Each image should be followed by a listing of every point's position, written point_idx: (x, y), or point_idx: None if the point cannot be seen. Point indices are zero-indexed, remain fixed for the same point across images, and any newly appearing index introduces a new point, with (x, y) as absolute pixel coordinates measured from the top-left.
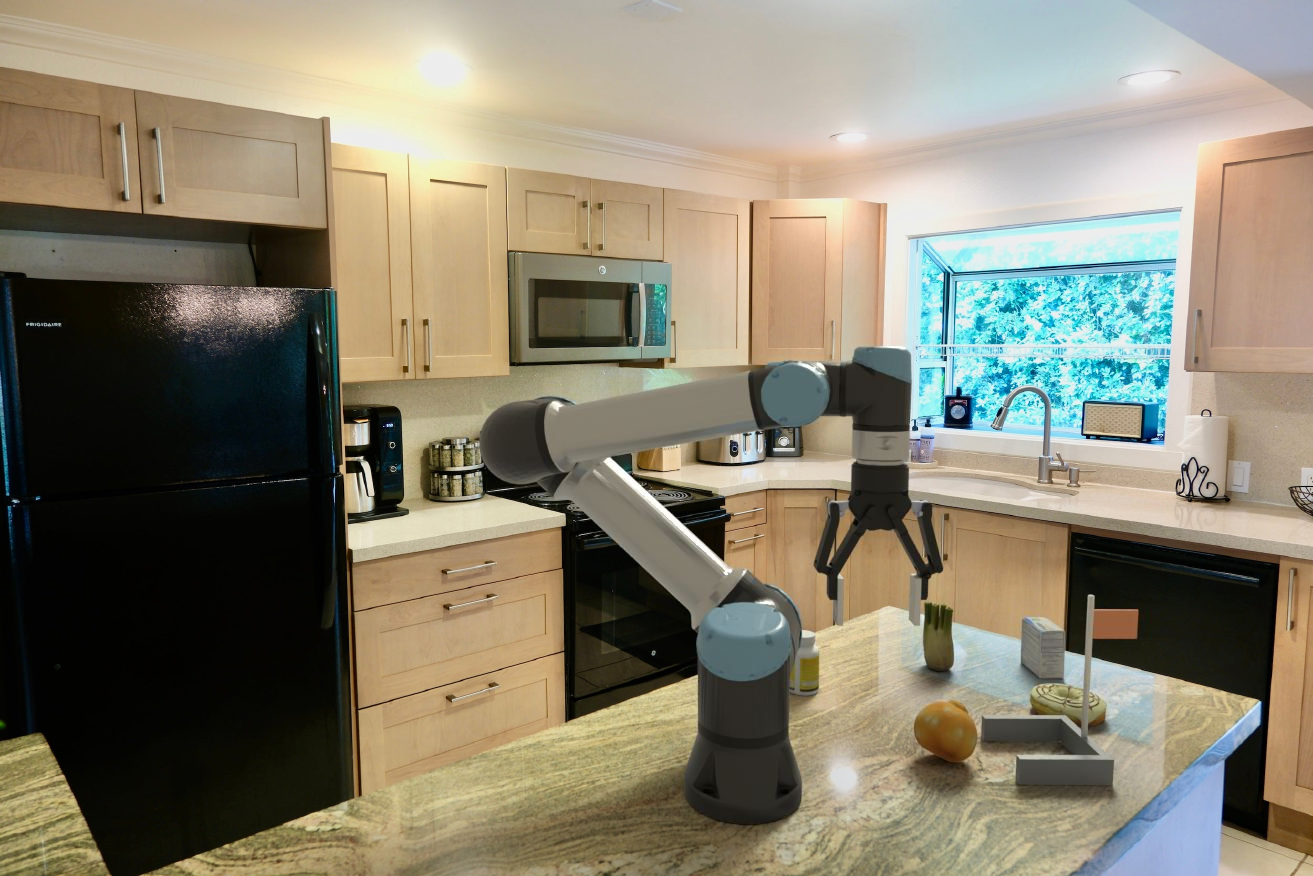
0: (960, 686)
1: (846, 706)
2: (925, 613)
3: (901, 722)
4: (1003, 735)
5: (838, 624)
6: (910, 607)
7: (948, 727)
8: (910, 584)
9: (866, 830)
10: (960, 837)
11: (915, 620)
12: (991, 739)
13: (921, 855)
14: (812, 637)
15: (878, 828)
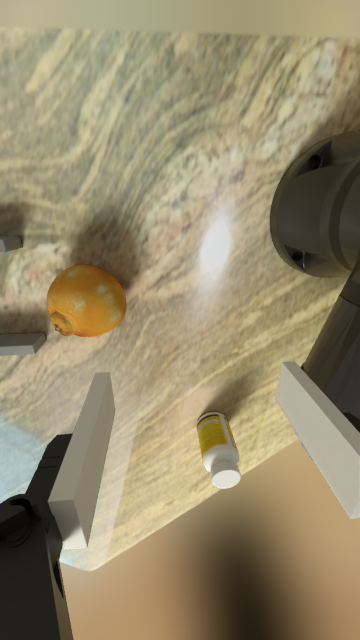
0: (49, 442)
1: (176, 395)
2: (61, 544)
3: (126, 367)
4: (19, 336)
5: (294, 362)
6: (108, 428)
7: (85, 278)
8: (95, 498)
9: (220, 124)
10: (113, 105)
11: (105, 380)
12: (35, 334)
13: (170, 59)
14: (217, 472)
15: (205, 129)
